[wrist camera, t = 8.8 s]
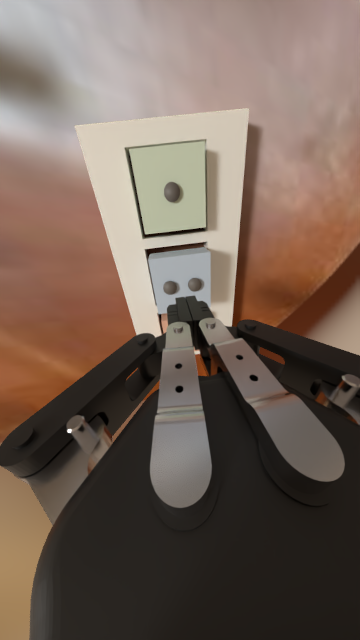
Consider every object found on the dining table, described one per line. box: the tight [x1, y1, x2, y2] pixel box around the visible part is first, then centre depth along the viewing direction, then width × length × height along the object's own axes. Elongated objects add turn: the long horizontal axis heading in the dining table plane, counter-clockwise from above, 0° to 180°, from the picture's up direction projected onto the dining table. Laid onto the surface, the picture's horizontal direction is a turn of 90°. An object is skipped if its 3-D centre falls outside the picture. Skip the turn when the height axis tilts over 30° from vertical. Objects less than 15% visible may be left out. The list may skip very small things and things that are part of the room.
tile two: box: [148, 247, 211, 314], centre depth 19 cm, size 6×6×3 cm
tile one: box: [129, 141, 206, 234], centre depth 16 cm, size 6×6×3 cm
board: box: [75, 108, 249, 354], centre depth 21 cm, size 14×26×2 cm, turn 6°
